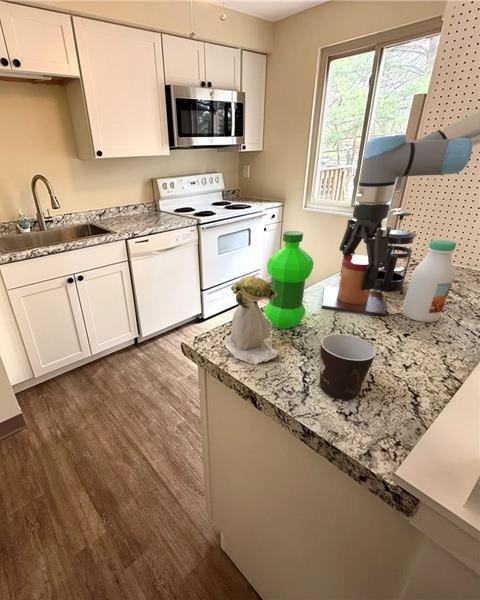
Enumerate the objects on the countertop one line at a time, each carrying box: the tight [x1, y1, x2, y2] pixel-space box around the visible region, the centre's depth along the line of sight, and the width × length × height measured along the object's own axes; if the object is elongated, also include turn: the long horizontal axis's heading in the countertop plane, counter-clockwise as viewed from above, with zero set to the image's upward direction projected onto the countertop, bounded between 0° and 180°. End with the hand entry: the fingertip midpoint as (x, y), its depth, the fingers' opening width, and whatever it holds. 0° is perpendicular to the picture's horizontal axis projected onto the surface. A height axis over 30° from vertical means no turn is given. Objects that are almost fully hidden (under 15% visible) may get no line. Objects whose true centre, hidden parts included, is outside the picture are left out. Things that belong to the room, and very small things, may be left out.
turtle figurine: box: [223, 275, 280, 366], centre depth 72 cm, size 12×13×18 cm
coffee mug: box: [319, 333, 377, 401], centre depth 58 cm, size 12×9×10 cm
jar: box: [337, 266, 371, 304], centre depth 89 cm, size 8×8×12 cm
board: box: [320, 285, 387, 318], centre depth 92 cm, size 15×15×1 cm
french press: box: [372, 211, 418, 292], centre depth 94 cm, size 12×9×23 cm
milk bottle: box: [401, 239, 457, 323], centre depth 77 cm, size 8×8×20 cm
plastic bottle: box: [264, 230, 314, 329], centre depth 79 cm, size 10×10×25 cm
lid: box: [341, 254, 369, 270], centre depth 87 cm, size 8×8×2 cm
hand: (355, 282), depth 89 cm, fingers open, 10 cm apart
